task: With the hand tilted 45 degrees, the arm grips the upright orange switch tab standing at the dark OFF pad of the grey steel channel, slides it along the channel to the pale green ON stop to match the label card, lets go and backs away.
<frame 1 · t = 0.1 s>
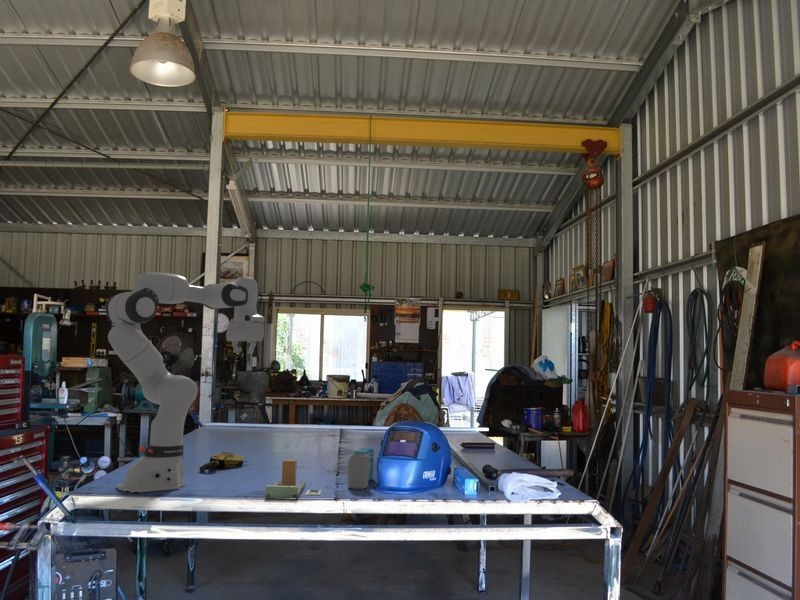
hand: (243, 352, 262), 48 cm above the table, tool pointing down, fingers open, 8 cm apart
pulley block: (220, 468, 278), on the table
can: (357, 488, 241), on the table
tab: (288, 488, 236), resting in switch channel
switch channel: (286, 491, 231), on the table
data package: (363, 481, 256), on the table
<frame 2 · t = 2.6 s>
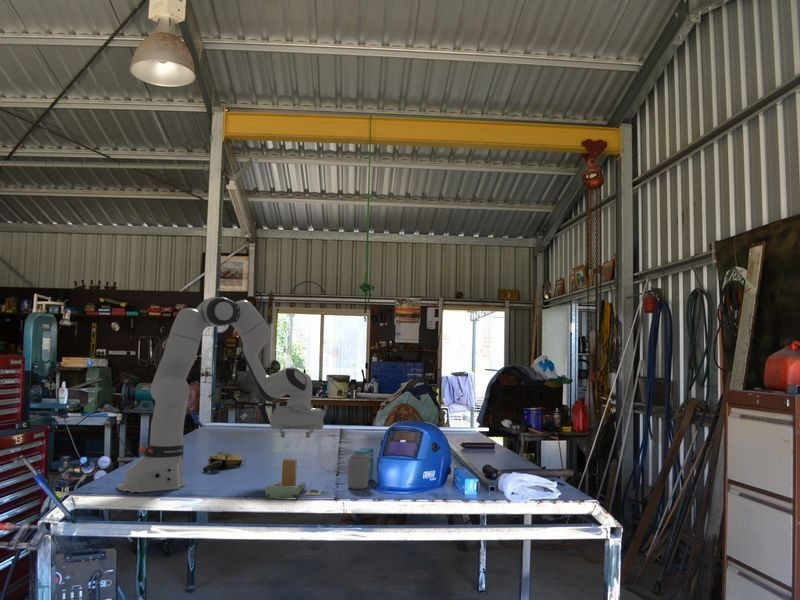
hand: (295, 436, 250), 17 cm above the table, tool tilted 45°, fingers open, 8 cm apart
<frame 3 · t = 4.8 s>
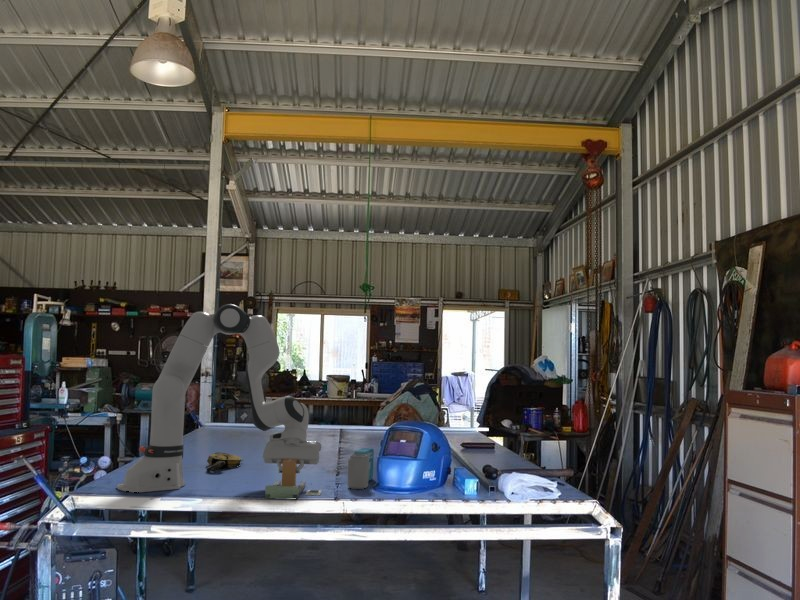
hand: (289, 472, 236), 6 cm above the table, tool tilted 45°, fingers closed on tab, 4 cm apart
tab: (288, 488, 236), resting in switch channel, touching gripper
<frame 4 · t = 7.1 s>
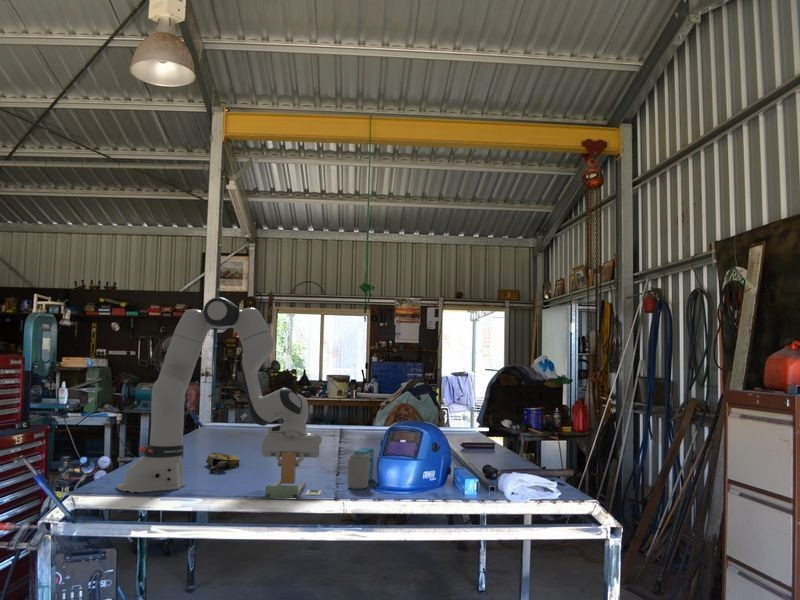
hand: (288, 465, 229), 9 cm above the table, tool tilted 45°, fingers closed on tab, 4 cm apart
tab: (287, 482, 229), point 3 cm above the table, touching gripper
when the fingers open (7 cm above the table, at t = 9.2 s): tab stays where it is, resting in switch channel.
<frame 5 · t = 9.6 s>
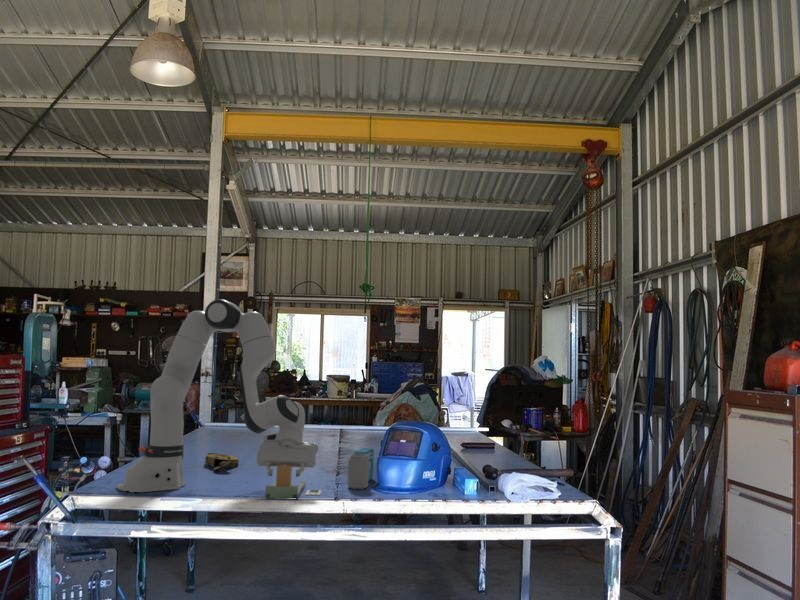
hand: (283, 475, 223), 7 cm above the table, tool tilted 45°, fingers open, 8 cm apart
tab: (283, 496, 223), resting in switch channel
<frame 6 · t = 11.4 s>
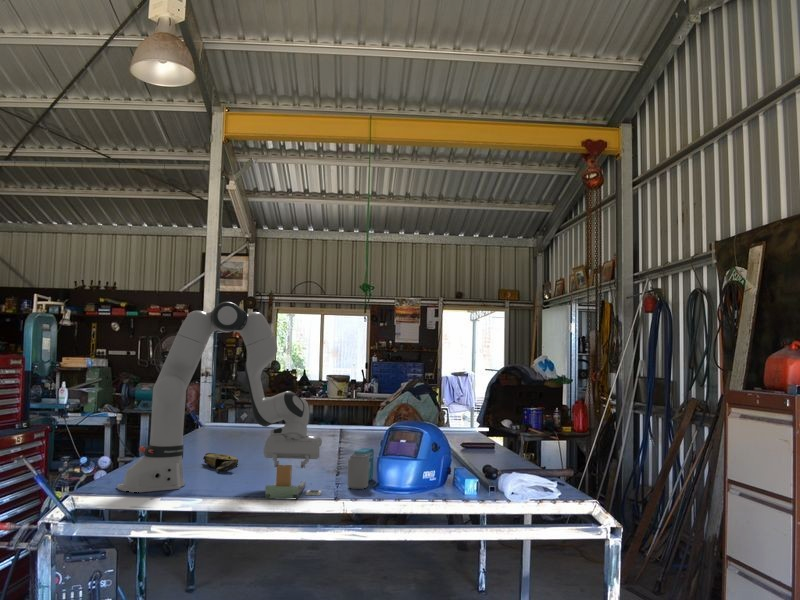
hand: (289, 466, 237), 8 cm above the table, tool tilted 45°, fingers open, 8 cm apart
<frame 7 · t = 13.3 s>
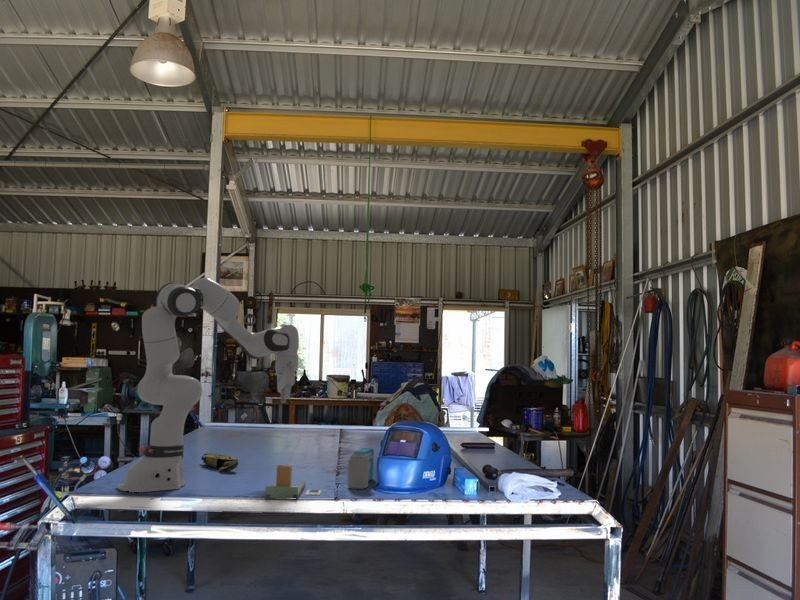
hand: (285, 400, 257), 30 cm above the table, tool pointing down, fingers open, 8 cm apart
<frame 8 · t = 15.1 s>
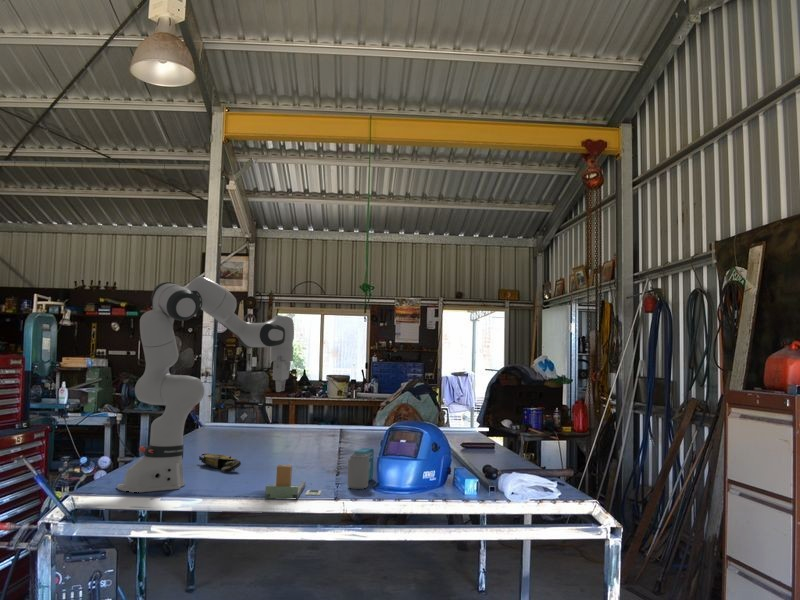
hand: (280, 391, 263), 33 cm above the table, tool pointing down, fingers open, 8 cm apart
at the end: tab 0.0 cm from the target spot, resting in switch channel; tab moved 13.0 cm from its start; tab tilted 0° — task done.
